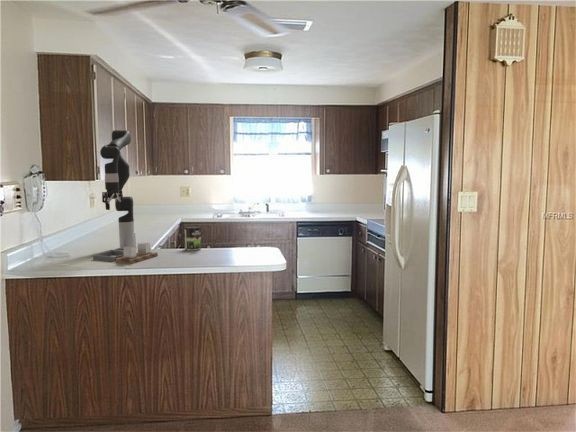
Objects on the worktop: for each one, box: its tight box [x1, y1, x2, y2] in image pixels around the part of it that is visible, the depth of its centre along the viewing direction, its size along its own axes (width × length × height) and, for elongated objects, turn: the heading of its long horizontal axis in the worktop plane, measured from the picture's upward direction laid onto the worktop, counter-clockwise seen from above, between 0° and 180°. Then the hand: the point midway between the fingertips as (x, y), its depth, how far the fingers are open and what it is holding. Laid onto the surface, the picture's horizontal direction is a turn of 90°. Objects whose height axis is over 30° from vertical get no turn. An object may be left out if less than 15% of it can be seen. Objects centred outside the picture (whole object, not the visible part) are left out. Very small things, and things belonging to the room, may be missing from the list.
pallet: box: [115, 251, 159, 266], centre depth 266 cm, size 22×11×3 cm, turn 158°
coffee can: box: [184, 225, 202, 251], centre depth 299 cm, size 10×10×14 cm
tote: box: [92, 249, 124, 263], centre depth 270 cm, size 16×16×4 cm
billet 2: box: [137, 241, 151, 255], centre depth 271 cm, size 4×6×8 cm
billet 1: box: [122, 245, 137, 259], centre depth 260 cm, size 4×6×8 cm
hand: (113, 209), depth 275 cm, fingers open, 8 cm apart
